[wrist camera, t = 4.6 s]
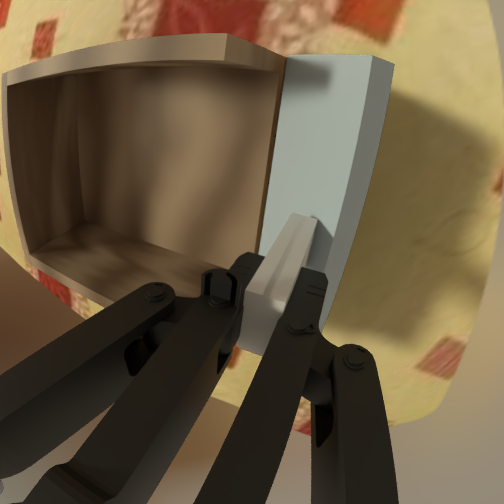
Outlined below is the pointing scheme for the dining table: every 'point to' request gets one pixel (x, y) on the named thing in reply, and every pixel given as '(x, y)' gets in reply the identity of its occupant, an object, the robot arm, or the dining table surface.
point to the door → (326, 154)
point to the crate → (141, 159)
